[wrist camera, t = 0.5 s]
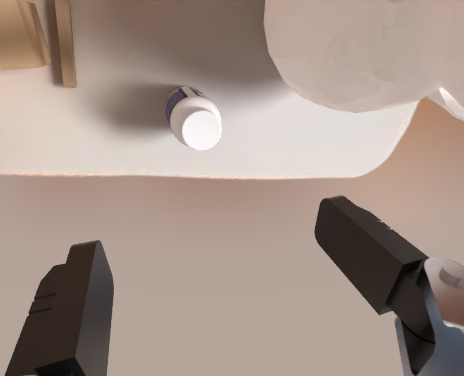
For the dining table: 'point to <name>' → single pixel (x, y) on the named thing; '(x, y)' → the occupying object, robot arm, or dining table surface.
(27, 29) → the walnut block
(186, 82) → the dining table surface
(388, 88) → the white vase
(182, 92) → the pill bottle
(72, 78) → the walnut lane broken
